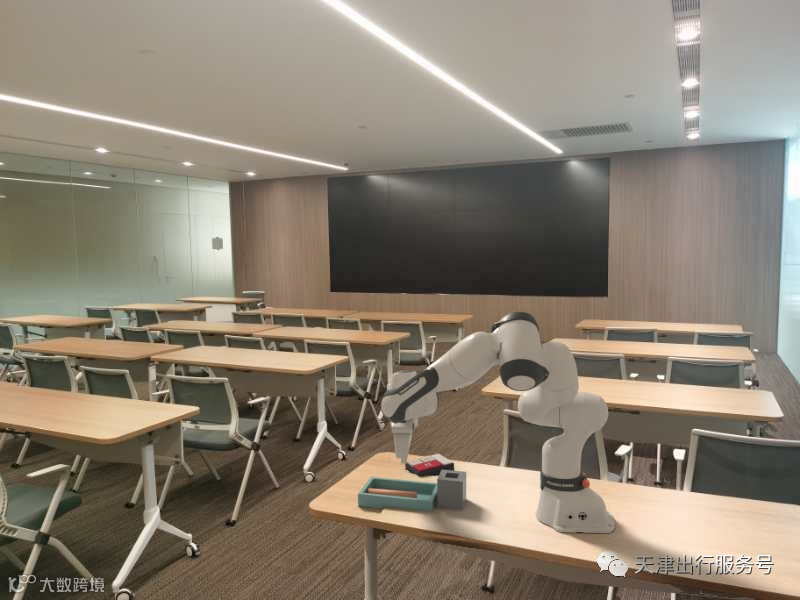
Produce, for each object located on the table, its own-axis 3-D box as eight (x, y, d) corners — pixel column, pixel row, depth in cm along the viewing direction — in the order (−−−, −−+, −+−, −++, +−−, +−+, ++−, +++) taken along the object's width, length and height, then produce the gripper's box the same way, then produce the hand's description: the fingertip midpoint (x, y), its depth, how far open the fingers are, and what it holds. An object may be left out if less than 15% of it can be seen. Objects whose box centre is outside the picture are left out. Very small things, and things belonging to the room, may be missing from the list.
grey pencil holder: (466, 501, 178) (466, 471, 177) (462, 513, 170) (462, 481, 169) (441, 499, 180) (441, 469, 179) (437, 510, 172) (437, 479, 171)
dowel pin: (417, 491, 178) (369, 487, 182) (415, 493, 176) (367, 489, 179) (417, 498, 178) (369, 494, 181) (415, 501, 176) (367, 497, 179)
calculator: (404, 460, 205) (439, 451, 212) (405, 471, 206) (439, 462, 212) (418, 470, 195) (454, 461, 202) (419, 482, 196) (454, 472, 202)
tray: (440, 495, 183) (440, 483, 182) (432, 514, 169) (432, 501, 169) (371, 488, 189) (371, 476, 188) (358, 506, 175) (357, 493, 175)
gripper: (397, 410, 187) (397, 450, 188) (391, 429, 166) (391, 473, 168) (415, 410, 186) (415, 450, 187) (411, 429, 166) (412, 474, 167)
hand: (404, 461), depth 177 cm, fingers closed
